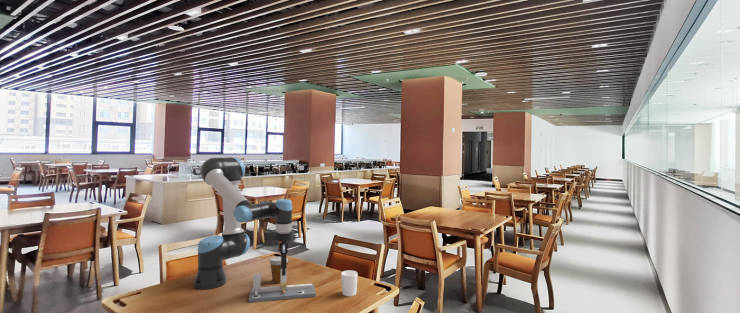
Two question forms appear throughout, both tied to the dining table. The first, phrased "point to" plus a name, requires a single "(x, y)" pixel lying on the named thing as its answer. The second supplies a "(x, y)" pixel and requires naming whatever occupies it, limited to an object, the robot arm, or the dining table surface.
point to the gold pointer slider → (283, 284)
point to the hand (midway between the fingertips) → (283, 280)
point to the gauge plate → (279, 291)
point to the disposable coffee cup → (276, 268)
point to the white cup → (349, 282)
